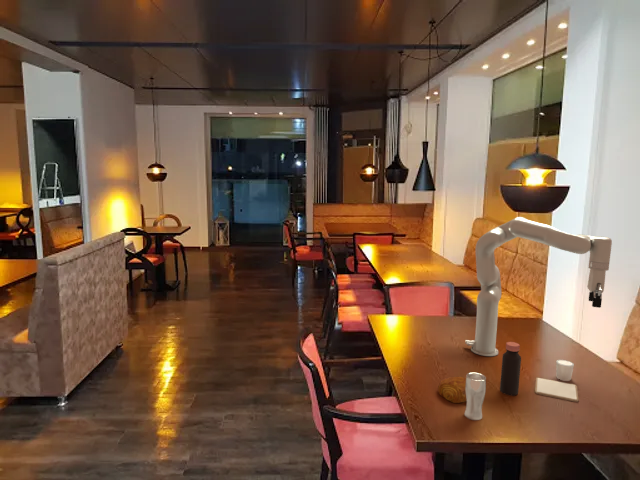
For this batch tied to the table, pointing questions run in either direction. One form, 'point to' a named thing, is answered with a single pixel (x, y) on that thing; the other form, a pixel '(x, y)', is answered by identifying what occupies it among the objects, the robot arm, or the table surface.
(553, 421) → the table surface
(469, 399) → the beer glass
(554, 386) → the plate
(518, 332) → the table surface
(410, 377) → the table surface
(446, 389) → the croissant
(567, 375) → the short white cylinder
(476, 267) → the robot arm
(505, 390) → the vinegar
